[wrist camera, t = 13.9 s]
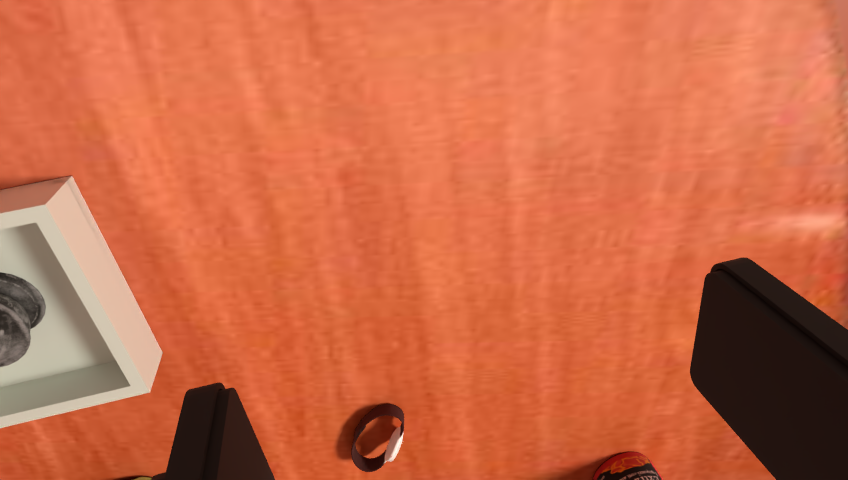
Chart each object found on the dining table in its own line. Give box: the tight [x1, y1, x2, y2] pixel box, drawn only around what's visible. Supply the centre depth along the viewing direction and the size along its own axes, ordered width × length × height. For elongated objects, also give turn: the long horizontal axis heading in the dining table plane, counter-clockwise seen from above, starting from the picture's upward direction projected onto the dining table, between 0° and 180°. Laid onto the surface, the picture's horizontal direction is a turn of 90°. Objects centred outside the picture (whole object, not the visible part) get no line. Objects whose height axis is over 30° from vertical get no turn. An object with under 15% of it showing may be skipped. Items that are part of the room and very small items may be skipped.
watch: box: [351, 404, 404, 472], centre depth 53 cm, size 8×5×4 cm, turn 153°
